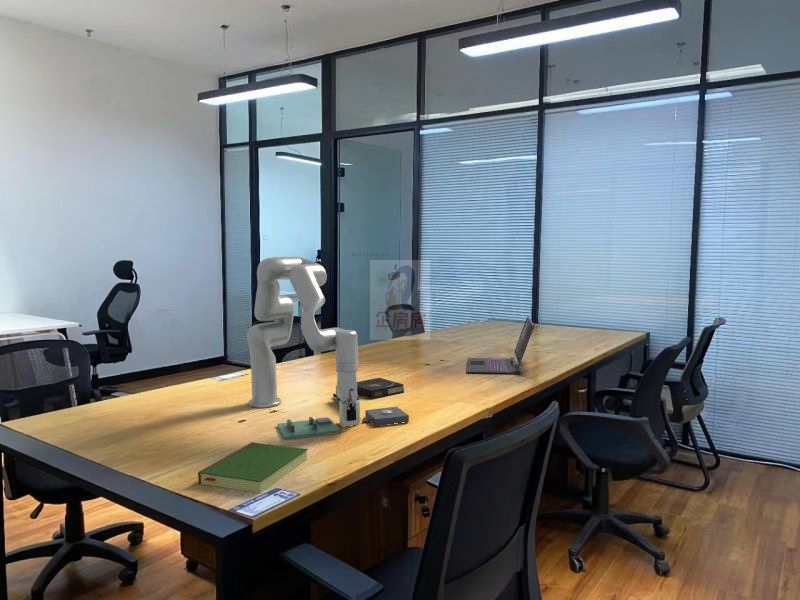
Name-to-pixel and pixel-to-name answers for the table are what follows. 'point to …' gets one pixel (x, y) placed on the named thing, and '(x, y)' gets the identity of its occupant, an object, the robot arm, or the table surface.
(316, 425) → the board
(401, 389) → the portable cd player
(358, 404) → the plug
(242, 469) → the hardcover book
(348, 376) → the robot arm
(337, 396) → the handheld radio
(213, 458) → the table surface
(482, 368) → the laptop
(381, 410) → the gray dome slab
